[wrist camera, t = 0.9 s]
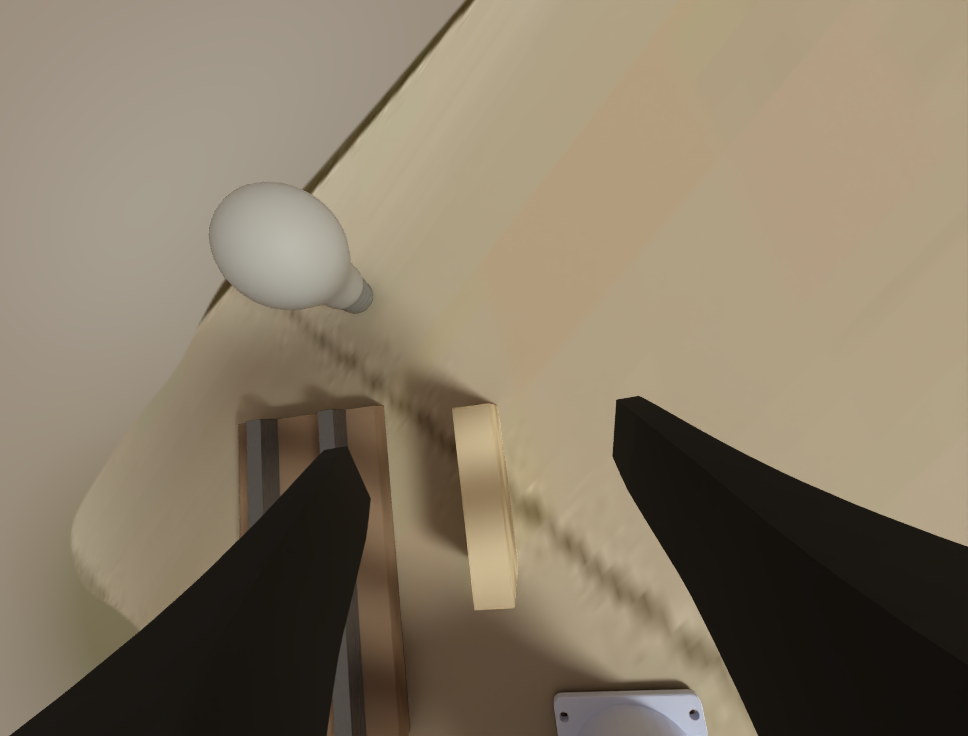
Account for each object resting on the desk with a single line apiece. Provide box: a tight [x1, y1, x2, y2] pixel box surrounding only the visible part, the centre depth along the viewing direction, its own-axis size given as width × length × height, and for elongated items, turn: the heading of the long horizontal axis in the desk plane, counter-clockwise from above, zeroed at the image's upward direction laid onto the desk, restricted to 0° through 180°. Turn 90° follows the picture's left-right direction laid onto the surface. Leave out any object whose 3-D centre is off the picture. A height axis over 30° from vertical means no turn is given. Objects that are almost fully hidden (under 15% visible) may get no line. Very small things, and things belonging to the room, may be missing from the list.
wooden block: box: [452, 403, 519, 610], centre depth 20 cm, size 10×2×5 cm, turn 7°
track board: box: [239, 406, 410, 736], centre depth 22 cm, size 20×10×3 cm, turn 7°
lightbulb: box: [209, 182, 373, 314], centre depth 20 cm, size 6×6×11 cm
